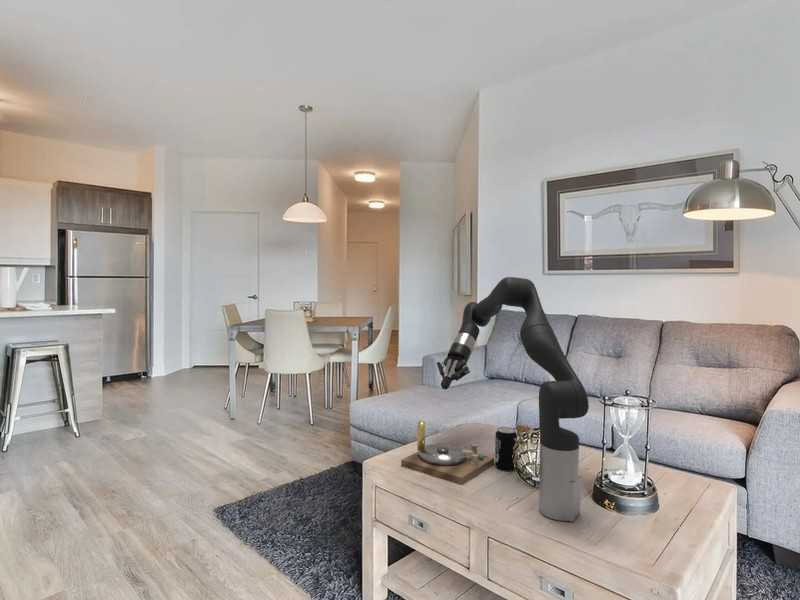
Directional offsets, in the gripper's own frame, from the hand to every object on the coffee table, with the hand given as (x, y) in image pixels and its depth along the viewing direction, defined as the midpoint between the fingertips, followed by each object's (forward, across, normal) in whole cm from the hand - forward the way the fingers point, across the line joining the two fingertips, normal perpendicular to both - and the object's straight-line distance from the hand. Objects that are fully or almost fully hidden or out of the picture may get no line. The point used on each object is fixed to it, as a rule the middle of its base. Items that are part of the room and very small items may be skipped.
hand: (443, 388), depth 161 cm
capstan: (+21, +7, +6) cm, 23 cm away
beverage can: (+16, +24, +14) cm, 32 cm away
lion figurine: (+2, +27, +28) cm, 39 cm away
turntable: (+22, +8, +8) cm, 25 cm away
